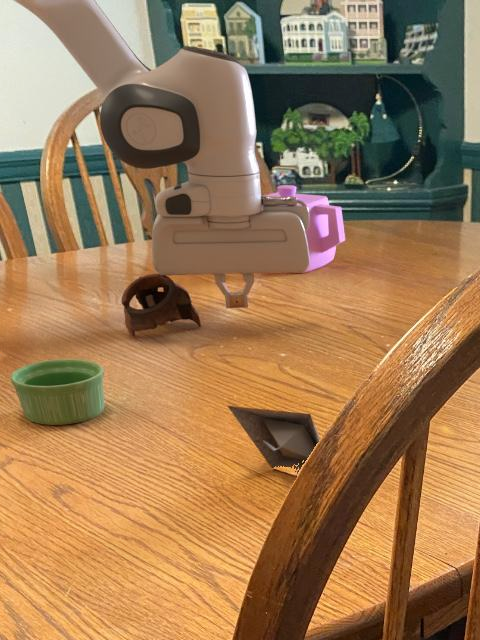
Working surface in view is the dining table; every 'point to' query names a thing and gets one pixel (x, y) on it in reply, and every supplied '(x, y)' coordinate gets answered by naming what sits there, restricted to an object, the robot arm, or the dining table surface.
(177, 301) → the brown hollow shell
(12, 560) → the dining table surface
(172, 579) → the dining table surface
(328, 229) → the teakettle
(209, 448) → the dining table surface
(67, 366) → the ramekin
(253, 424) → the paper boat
